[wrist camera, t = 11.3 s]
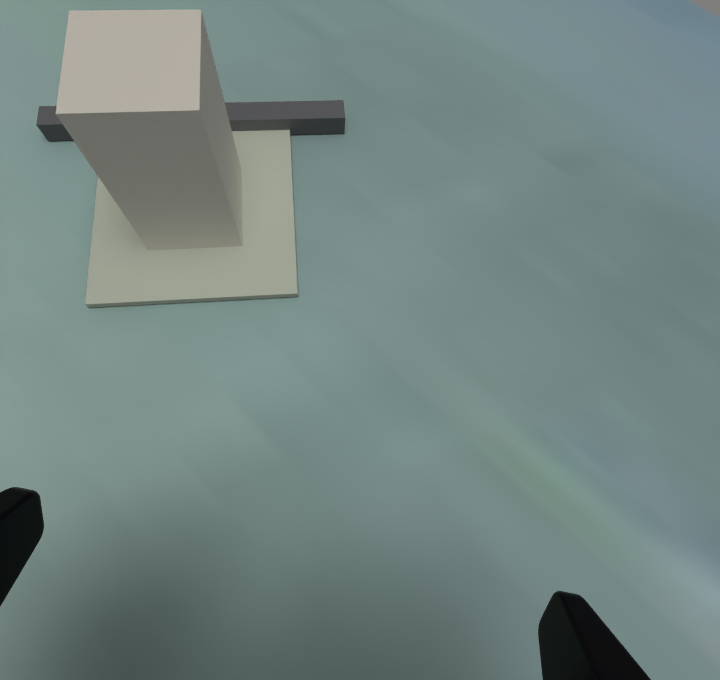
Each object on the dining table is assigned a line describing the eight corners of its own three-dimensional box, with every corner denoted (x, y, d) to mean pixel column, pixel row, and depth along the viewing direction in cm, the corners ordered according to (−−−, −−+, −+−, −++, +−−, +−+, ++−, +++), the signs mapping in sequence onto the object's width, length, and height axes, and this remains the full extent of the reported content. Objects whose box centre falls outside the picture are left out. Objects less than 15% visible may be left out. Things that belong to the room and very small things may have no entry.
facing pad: (88, 307, 24) (85, 304, 24) (105, 138, 27) (102, 133, 27) (298, 296, 25) (297, 293, 25) (290, 133, 28) (289, 128, 28)
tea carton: (242, 245, 25) (199, 109, 17) (148, 250, 25) (55, 113, 16) (241, 167, 27) (201, 6, 18) (152, 170, 26) (69, 7, 18)
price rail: (48, 141, 27) (36, 124, 26) (51, 121, 28) (39, 104, 26) (344, 133, 28) (344, 117, 27) (342, 114, 29) (343, 98, 28)
